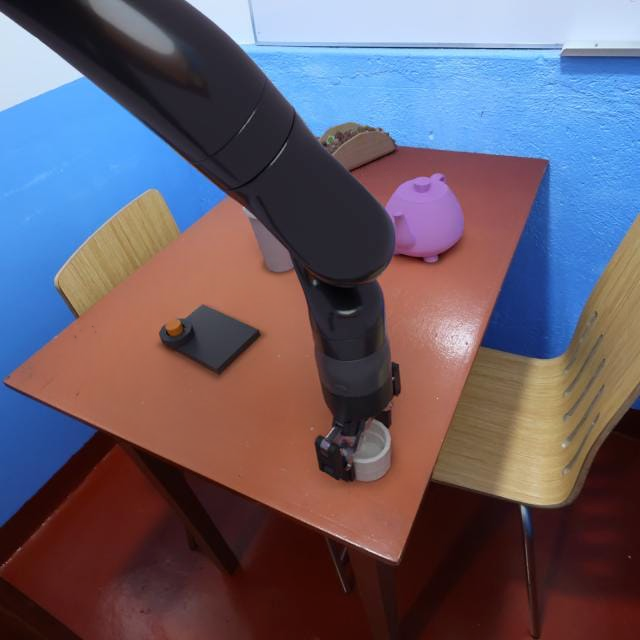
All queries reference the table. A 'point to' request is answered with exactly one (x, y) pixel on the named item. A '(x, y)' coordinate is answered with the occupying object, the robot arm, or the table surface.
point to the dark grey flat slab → (211, 338)
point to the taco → (357, 143)
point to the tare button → (174, 327)
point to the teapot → (425, 217)
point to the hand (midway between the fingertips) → (365, 449)
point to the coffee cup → (270, 246)
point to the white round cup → (372, 453)
